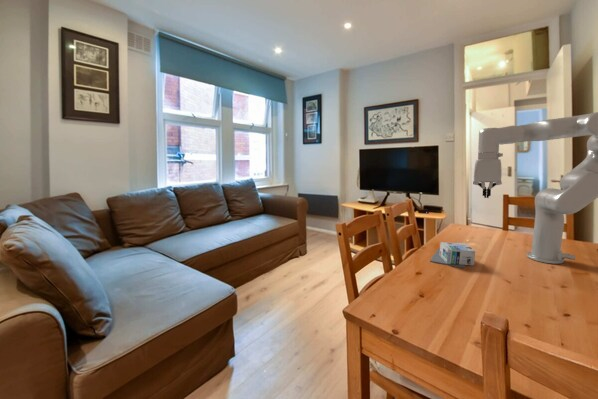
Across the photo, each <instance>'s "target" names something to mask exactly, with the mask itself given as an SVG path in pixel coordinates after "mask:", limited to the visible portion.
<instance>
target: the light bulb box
mask: <svg viewBox="0 0 598 399" xmlns="http://www.w3.org/2000/svg"><path fill="white" fill-rule="evenodd" d="M439 249H440V253H439V255H440V257H441V258H442V259H443V260H444V261H445V262H446V263H447V264H460V265H465V266H474V265H475V258H476V250H475V249H473V247H471V246H470V245H469V244H467V243H462V242H461V243H460V242H445V241H444V242H443V241H441V242H440V247H439Z"/></svg>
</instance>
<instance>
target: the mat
mask: <svg viewBox="0 0 598 399" xmlns="http://www.w3.org/2000/svg"><path fill="white" fill-rule="evenodd" d="M439 253H440V247H439V248H437V250H436V251H435V253H434V254H433V256H432V257H431V258H430V260H429V263H434V264H441V265H445V266H451V267H456V268H460V269H461V268H462V269H465V267H466V265H460V264H447V263H446V262H445V261H444V260H443V259H442V258H441V257H440V255H439Z"/></svg>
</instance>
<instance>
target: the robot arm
mask: <svg viewBox="0 0 598 399" xmlns="http://www.w3.org/2000/svg"><path fill="white" fill-rule="evenodd" d="M584 136H589V138H588V139H587V142H586V149H587V153H586V157H585V158H584V159H583V160H582V162H580V163H579V164H578V165H576V166H575V167H574V168H573V169H571V170H570V171H569V172H567V173H566V174H565V175H564V176H562V177H561V179H560V180H559V183H558V184H559V188H560V189H559V188H553V187H552V188H551V187H550V188H543V189H541V190H540V191H538V192H537V193H536V195H535V197H534V208H535V214H534V215H535V218H534V225H533V226H534V228H533V234H532V235H533V236H532V241H531V242H532V244H531V250H530V251H528V252H526V257H527V258H528V259H531V260H533V261H536V262H540V263H545V264H554V265H557V264H558V265H559V264H564V263H565V259H567V260H573V261H574V260H576V255H574V254H570V253H564V252H563V251H562V250H561V249H562V242H563V233H564V227H565V215H573V214H576V213H578V212H579V211H581V210H582V209H584V208H585V207H587V206H588V205H589V204H591V203H592V202H594V201H595V200H596V199H597V198H598V112H591V113H585V114H580V115H572V116H566V117H560V118H558V117H557V118H549V119H544V120H539V121H536V122H530V123H527V124H520V125H508V126H503V127H487V128H486V127H485V128H482V129H480V130H479V132H478V145H477V146H478V149H477V150H478V151H477V159H476V160H475V163H474V168H473V169H474V171H473V183H472V184H473V185H475V186H479V187H480V188H481V189H482V197H483V198H484V199H486V198H487V199H490V198H489V197H491V196H492V195H491V190H492V189H493V188H494V187H496V186H500V185H503V182H502V177H503V176H502V174H503V173H502V172H503V170H502V160H501V159H500V158H502V157H503V155H504V154H503V152H502V153H501V152H499V151H500V145H511V144H515V143H516V144H517V143H526V142H543V141H551V140H561V139H568V138H569V139H570V138H575V137H578V138H579V137H584ZM486 183H488V186H487V187H486Z"/></svg>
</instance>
